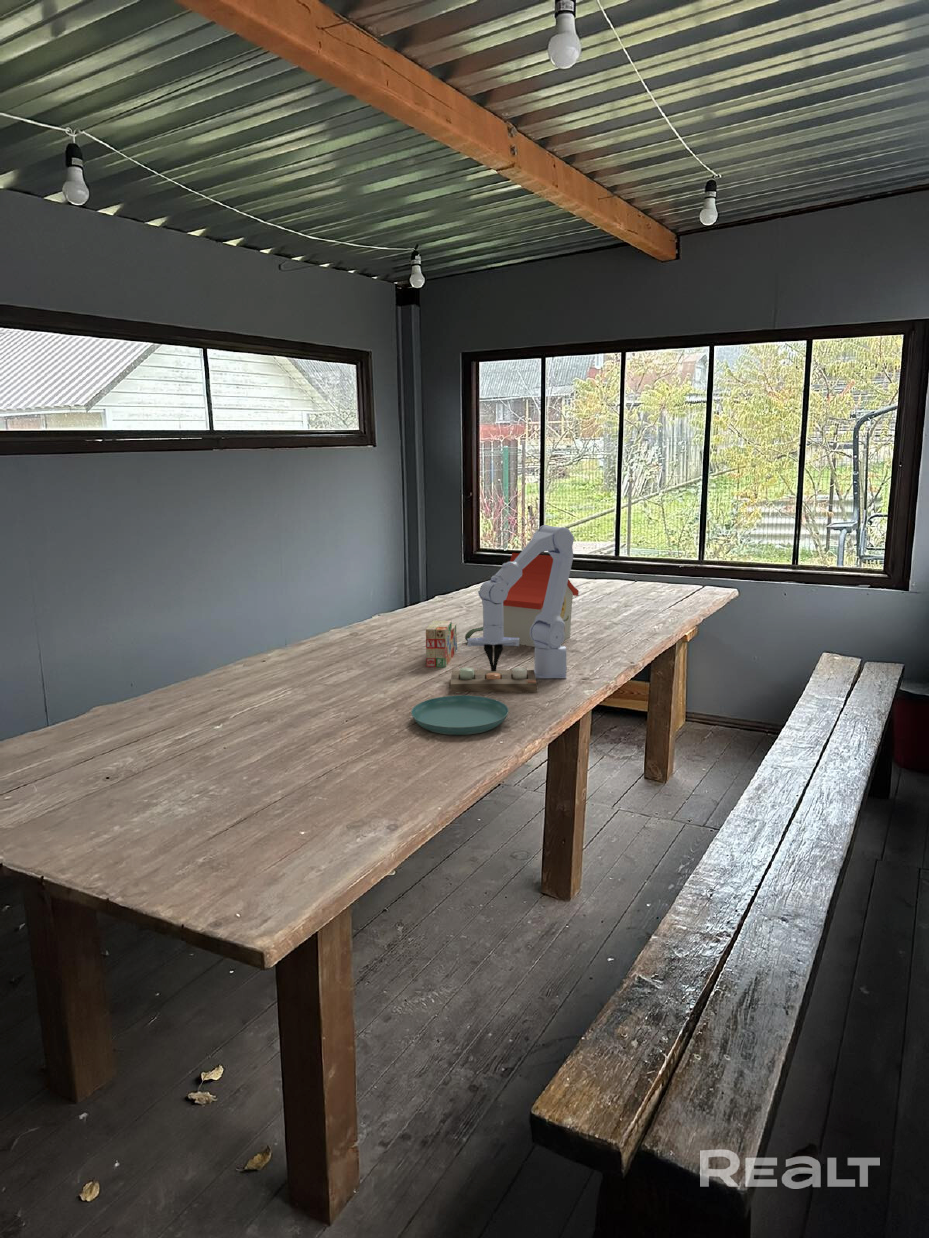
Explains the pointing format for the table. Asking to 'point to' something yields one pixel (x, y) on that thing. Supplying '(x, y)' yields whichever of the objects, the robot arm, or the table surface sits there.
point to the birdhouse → (531, 601)
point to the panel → (493, 682)
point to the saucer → (460, 714)
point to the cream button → (519, 673)
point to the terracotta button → (493, 676)
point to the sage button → (466, 673)
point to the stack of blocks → (440, 643)
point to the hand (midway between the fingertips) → (493, 670)
